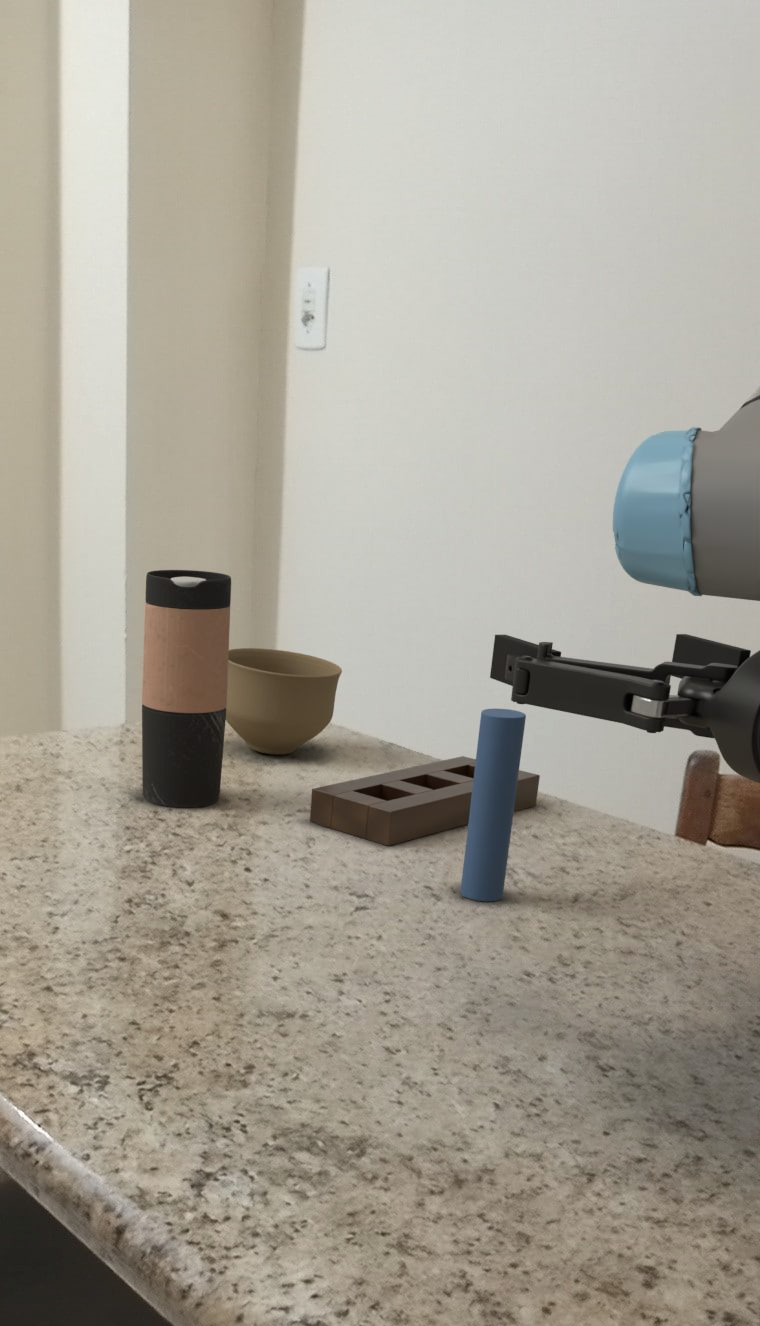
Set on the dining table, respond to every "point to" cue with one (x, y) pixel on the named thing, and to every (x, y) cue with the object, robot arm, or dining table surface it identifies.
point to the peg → (492, 803)
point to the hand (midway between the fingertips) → (589, 655)
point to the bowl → (279, 697)
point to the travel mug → (184, 686)
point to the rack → (408, 801)
